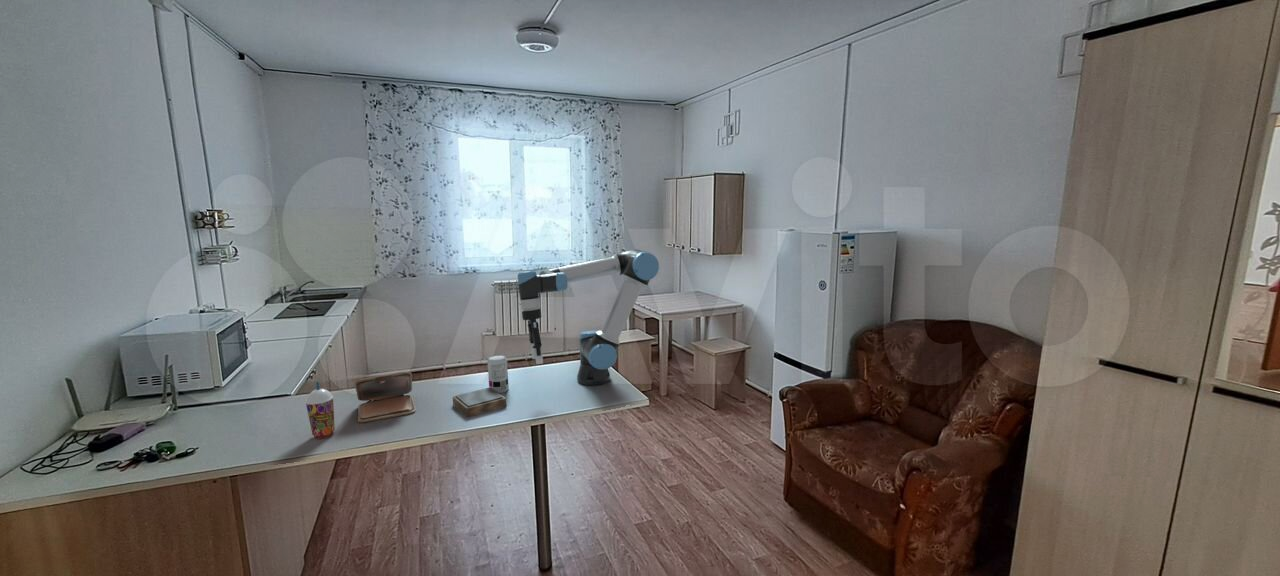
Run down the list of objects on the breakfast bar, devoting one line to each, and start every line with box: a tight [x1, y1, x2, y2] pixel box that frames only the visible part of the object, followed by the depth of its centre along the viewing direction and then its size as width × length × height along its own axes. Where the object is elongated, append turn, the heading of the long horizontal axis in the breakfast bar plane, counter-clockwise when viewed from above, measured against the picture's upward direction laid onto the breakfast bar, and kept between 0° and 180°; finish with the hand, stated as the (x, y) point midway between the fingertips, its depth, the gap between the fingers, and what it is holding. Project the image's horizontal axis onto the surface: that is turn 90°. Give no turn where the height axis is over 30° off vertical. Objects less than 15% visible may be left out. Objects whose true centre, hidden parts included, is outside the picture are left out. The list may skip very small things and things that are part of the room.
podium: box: [452, 387, 508, 418], centre depth 205 cm, size 16×16×4 cm
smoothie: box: [305, 381, 336, 440], centre depth 178 cm, size 8×8×20 cm
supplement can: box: [487, 354, 509, 394], centre depth 220 cm, size 8×8×15 cm
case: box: [354, 370, 417, 424], centre depth 201 cm, size 20×21×16 cm
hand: (537, 361), depth 205 cm, fingers open, 13 cm apart
